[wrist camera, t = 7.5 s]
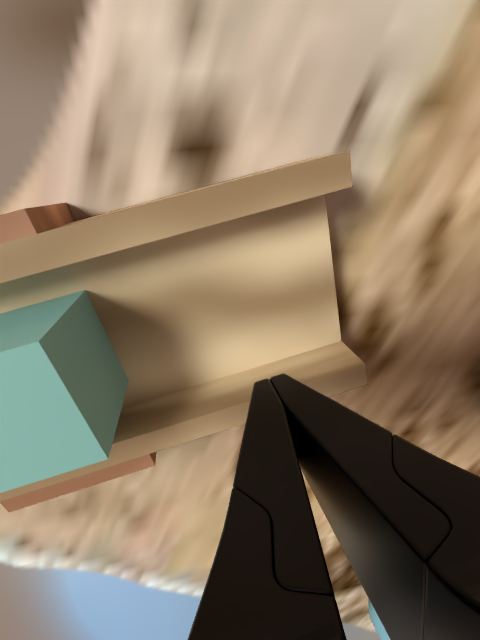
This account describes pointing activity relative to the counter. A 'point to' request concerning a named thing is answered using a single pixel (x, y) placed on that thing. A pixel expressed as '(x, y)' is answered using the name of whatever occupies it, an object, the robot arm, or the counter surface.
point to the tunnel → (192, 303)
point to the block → (56, 390)
